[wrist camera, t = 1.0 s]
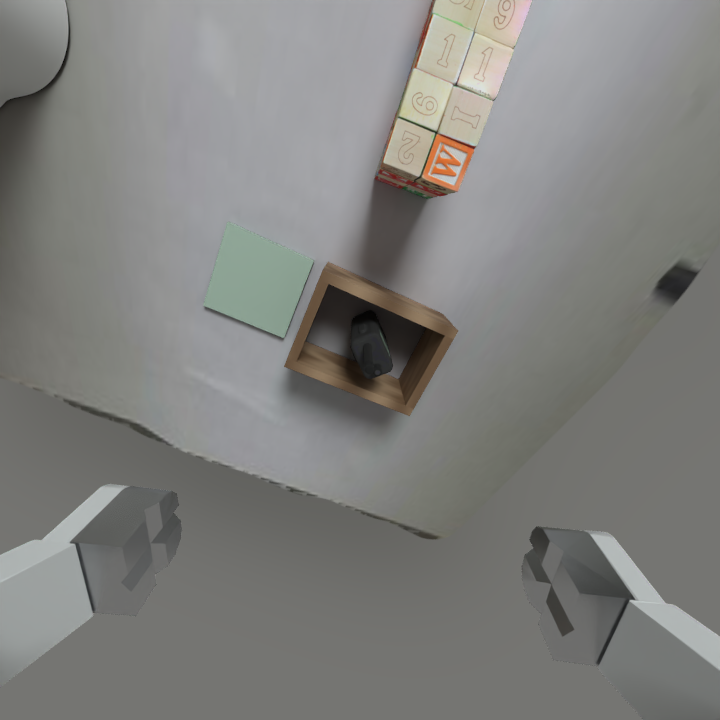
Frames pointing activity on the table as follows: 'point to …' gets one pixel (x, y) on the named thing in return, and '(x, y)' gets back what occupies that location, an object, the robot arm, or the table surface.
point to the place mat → (257, 280)
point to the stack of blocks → (450, 93)
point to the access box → (348, 372)
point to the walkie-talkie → (370, 345)
